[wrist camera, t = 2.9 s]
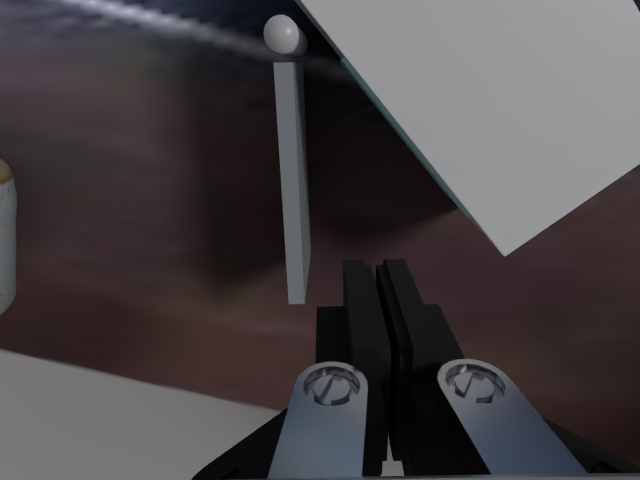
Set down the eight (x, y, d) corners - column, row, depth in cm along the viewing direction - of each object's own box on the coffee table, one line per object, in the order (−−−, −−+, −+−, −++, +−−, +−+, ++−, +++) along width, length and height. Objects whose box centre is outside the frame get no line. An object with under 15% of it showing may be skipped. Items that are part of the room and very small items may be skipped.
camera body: (594, 106, 21) (714, 124, 14) (457, 209, 23) (507, 265, 17) (403, -199, 17) (447, -371, 10) (258, -39, 19) (219, -96, 12)
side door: (315, 251, 24) (309, 306, 19) (294, 252, 24) (282, 306, 19) (307, 29, 20) (297, 14, 14) (282, 30, 20) (262, 15, 14)
